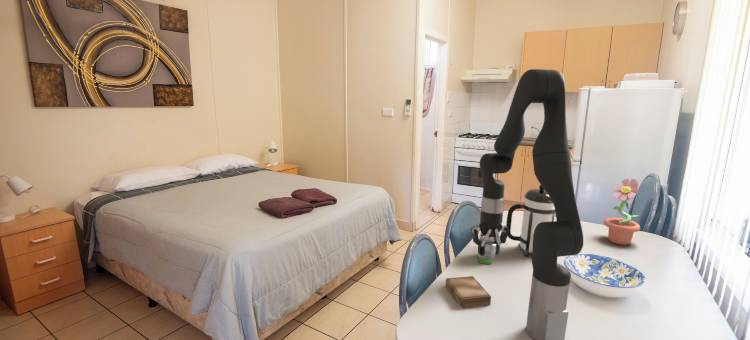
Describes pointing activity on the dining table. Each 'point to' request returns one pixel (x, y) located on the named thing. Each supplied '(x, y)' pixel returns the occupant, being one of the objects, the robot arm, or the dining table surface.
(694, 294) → the dining table surface
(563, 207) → the robot arm
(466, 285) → the tray
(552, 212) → the coffee press
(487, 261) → the ink box
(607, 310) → the dining table surface
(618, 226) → the decorative flower
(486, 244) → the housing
